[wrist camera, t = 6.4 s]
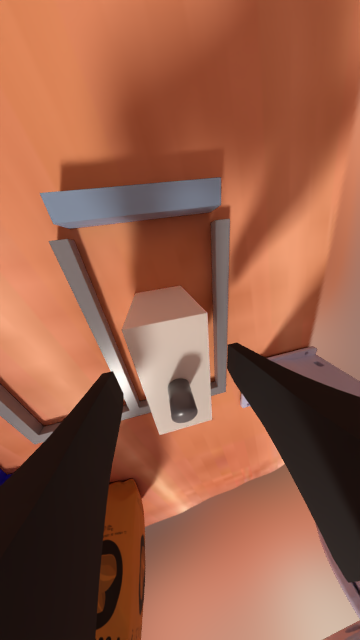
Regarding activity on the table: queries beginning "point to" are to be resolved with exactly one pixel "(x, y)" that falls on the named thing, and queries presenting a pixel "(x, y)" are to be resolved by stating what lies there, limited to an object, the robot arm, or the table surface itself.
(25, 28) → the table surface
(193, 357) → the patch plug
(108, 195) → the blue-grey bar
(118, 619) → the coffee package
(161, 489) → the table surface
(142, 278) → the table surface
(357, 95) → the table surface
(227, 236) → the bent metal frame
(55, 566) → the robot arm
